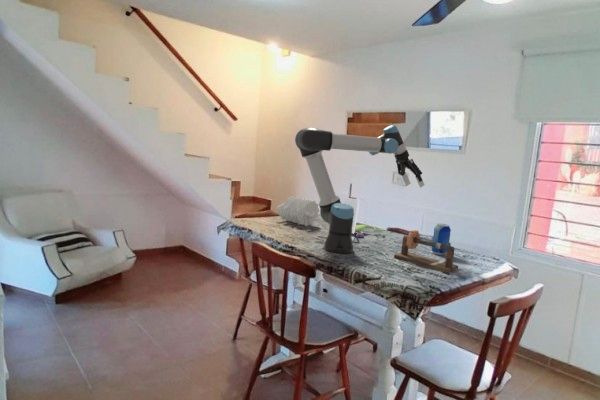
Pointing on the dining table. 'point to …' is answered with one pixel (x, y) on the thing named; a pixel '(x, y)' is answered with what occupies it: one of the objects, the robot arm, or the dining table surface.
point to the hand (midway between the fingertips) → (415, 185)
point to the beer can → (441, 237)
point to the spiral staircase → (299, 211)
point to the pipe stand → (427, 261)
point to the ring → (410, 239)
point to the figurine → (360, 227)
